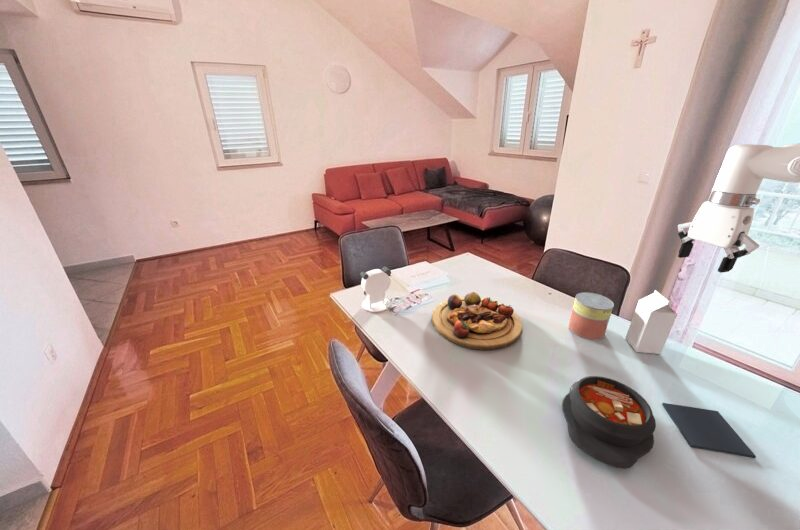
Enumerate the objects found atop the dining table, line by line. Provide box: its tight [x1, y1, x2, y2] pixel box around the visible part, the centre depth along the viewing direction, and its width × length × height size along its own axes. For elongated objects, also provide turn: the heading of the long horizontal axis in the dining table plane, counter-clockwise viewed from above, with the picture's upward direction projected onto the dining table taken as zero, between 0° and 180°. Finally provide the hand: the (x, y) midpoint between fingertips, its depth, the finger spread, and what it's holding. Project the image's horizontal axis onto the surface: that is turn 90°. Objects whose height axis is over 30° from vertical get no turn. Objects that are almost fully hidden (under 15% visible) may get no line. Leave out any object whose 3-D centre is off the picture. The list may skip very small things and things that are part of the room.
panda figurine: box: [359, 266, 392, 313], centre depth 123 cm, size 12×11×15 cm
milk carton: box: [624, 289, 678, 355], centre depth 98 cm, size 7×7×19 cm
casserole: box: [561, 375, 657, 470], centre depth 73 cm, size 25×19×8 cm
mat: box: [662, 402, 757, 459], centre depth 74 cm, size 12×12×1 cm
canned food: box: [567, 291, 615, 341], centre depth 107 cm, size 11×11×12 cm
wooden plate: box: [431, 291, 523, 350], centre depth 112 cm, size 32×32×8 cm
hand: (702, 263), depth 82 cm, fingers open, 9 cm apart
